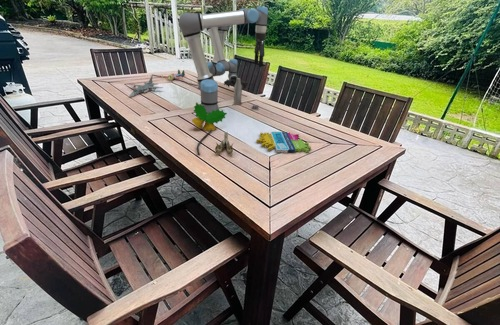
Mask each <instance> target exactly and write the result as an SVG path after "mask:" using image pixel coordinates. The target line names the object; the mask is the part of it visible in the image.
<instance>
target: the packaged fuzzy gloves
mask: <svg viewBox="0 0 500 325" xmlns="http://www.w3.org/2000/svg"><path fill="white" fill-rule="evenodd" d="M299 136H300V135H299V134H298V133H296V134H294V133H291V132H287V131H270V132H264V133H263V132H260V133H259V139H258V138H257V139H256V143H257V144H261V148H263V147H264V148H265V149H267V151H268V152H271V151H272V150H273V149H275V152H276V153H283V154H285V153H287V154H288V153H290V154H293V153H296V152H298V153H301V152H305V153H310V151H311V150H312V149H311V148H312V146H309V142H304V141H303V139H302V138H299Z"/></svg>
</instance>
